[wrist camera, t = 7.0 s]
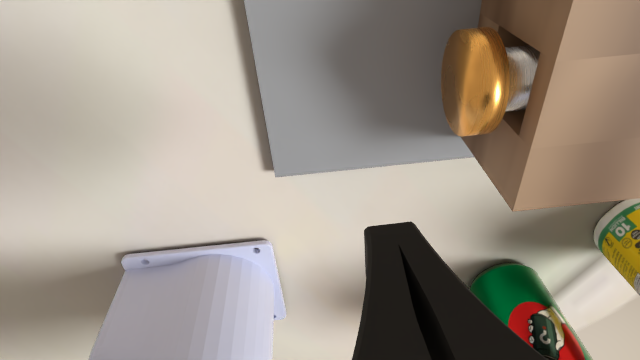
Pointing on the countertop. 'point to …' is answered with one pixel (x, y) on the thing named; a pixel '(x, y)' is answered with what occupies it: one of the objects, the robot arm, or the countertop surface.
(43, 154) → the countertop surface
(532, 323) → the soda can
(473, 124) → the shaft
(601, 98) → the bearing block
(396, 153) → the base plate
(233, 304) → the robot arm
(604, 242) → the supplement bottle
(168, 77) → the countertop surface
